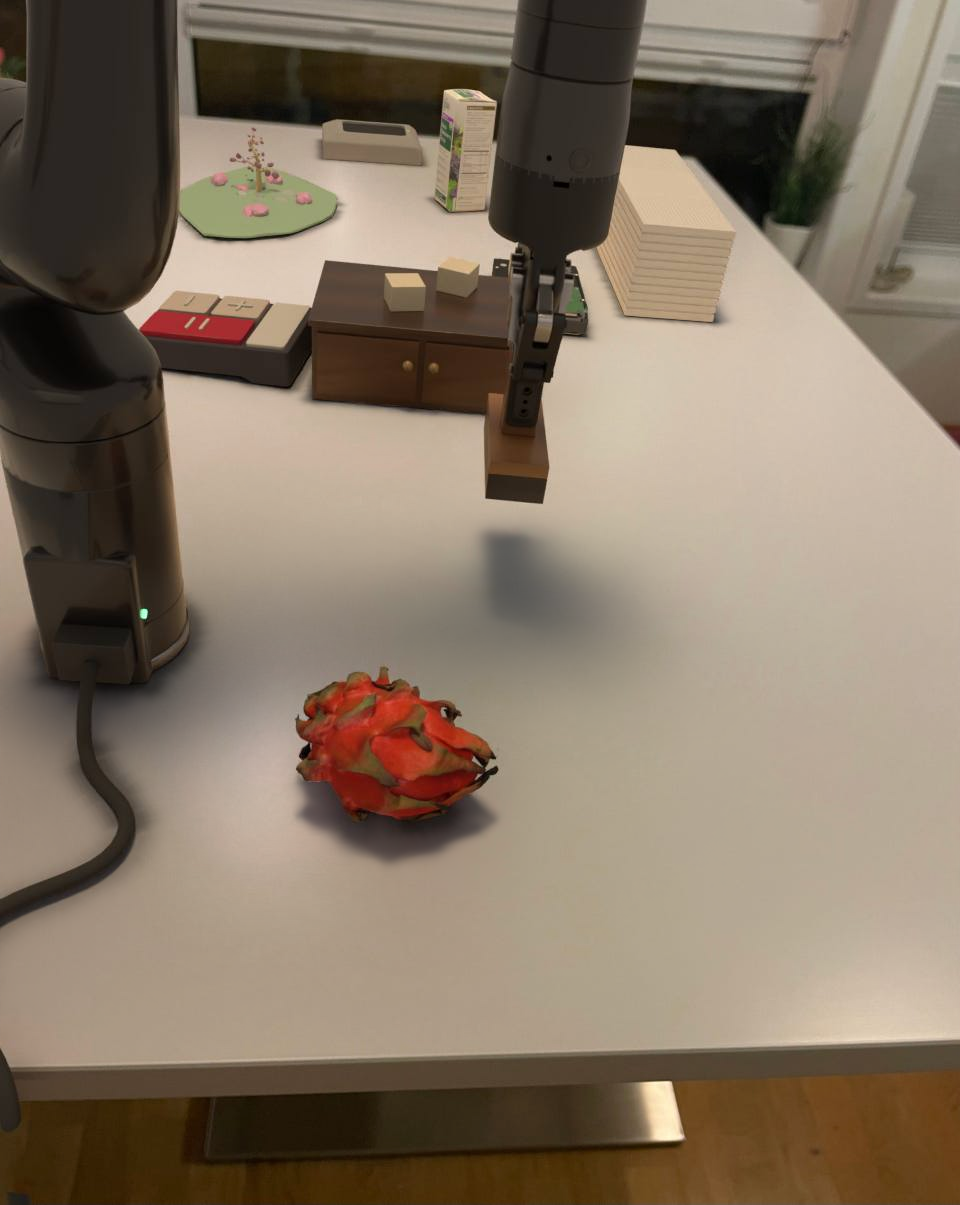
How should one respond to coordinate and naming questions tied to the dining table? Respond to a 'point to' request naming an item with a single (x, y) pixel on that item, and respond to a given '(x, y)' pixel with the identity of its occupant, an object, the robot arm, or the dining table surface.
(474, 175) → the syrup box
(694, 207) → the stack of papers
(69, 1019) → the dining table surface
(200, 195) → the plant
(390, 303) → the wooden block
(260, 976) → the dining table surface
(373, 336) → the cabinet
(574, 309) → the disk drive
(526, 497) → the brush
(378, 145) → the beige low box
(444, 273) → the wooden block
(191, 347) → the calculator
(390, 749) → the dragon fruit
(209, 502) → the dining table surface
